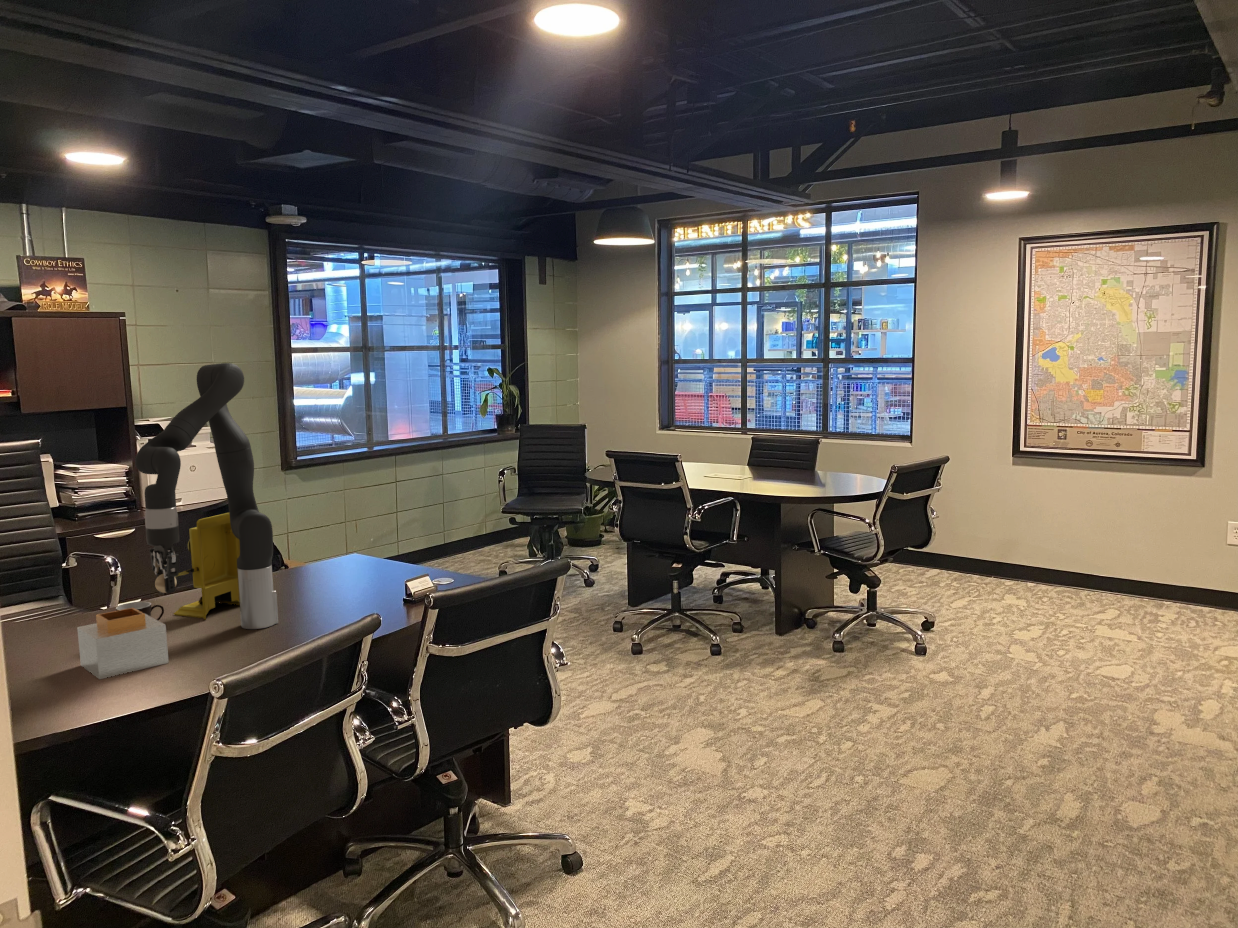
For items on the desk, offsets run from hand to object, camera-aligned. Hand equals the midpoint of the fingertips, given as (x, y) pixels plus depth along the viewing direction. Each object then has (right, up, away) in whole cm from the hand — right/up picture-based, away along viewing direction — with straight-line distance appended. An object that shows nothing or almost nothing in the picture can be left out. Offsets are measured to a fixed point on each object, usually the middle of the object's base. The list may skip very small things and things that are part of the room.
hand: (166, 590), depth 237 cm
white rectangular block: (-9, -18, -2) cm, 21 cm away
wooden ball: (0, -1, 0) cm, 1 cm away
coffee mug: (-15, -16, +17) cm, 28 cm away
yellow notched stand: (-8, -12, +47) cm, 49 cm away
